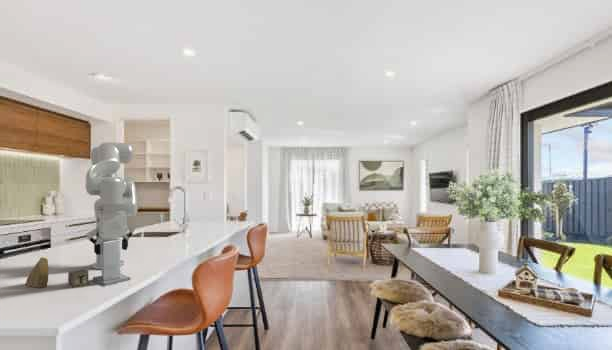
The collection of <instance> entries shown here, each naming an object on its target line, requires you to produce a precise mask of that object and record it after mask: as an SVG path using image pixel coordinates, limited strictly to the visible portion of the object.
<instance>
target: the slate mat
mask: <svg viewBox="0 0 612 350" xmlns="http://www.w3.org/2000/svg"><path fill="white" fill-rule="evenodd" d="M94 280H95V281H94ZM92 281H94V282H96V283H98V284H101V285H102V286H105V287H106V286H110V285H115V284H119V282H120V283H123V281H124V282H127V281H131V277H130V276H128V275H125V274H123V273H121V278H119V279H112V280H106V281H104V279H103V278H102V275H98V276H93V277H92Z"/></svg>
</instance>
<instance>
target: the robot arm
mask: <svg viewBox="0 0 612 350" xmlns="http://www.w3.org/2000/svg"><path fill="white" fill-rule="evenodd" d="M133 158H134V149H133V146H132V145H131V144H130V143H127V142H111V141H110V142H108V141H107V142H103V143H101V144H99V146H95V147H93V148H92V149H91V150H90V161H91V165H92V166H91V167H90V168H89V169H88V170H87V172H86V174H85V190H86V193H87V194H88V195H90V196H99V198H98V199H97V200H95V201H94V204H93V210H94V216H95V217H94V218H95V226H96V227H95V228H94V229H92V230H91V231H89V232H87V233H86V234H85V235H86V237H87V239H88V241H89V242H91V243H92V244H93V251H94V253H95V255H96V256H95V257H96V259H95V261H96V262H95V263H93V264H92V265H91V268H92V269H93V270H102V261H101V240H108V239H116V238H117V239H118V240H120V241H121V249H122V250H124V251H127V250H128V248H129V240H130V238H131V237H132V236H133V234H134V232H135V229H136V228H135V227H132V226H129V225H128V220H127V217H134V216H135V215H137V213H138V209H139V207H138V198H137V190H136V189H137V188H136V184H135V182H134V181H133V180H132V179H127V178H123V177H120V176H119V177H118V171H119V170H120V168H121V164H130V162H131V161H132V160H133ZM93 235H96V237H95V238H94V236H93ZM121 238H122V239H121ZM123 265H125V261H124V260H122V259H120V267H122V266H123Z"/></svg>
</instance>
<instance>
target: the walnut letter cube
mask: <svg viewBox="0 0 612 350" xmlns="http://www.w3.org/2000/svg"><path fill="white" fill-rule="evenodd" d="M67 277H68V279H67V286H69V285H70V286H69V287H71V286H72V287H71V288H76V287H75V286H78V287H81V286H80V285H82V286H85V285H84V284H86V285H89V270H87V269H84V268H81V269H76V270H72V271H68V274H67Z"/></svg>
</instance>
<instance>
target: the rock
mask: <svg viewBox="0 0 612 350" xmlns="http://www.w3.org/2000/svg"><path fill="white" fill-rule="evenodd" d="M48 261H49V260H48V258H46V257H41V258H40V259H39V260H38V261H37V262H36V264H35V265H34V267H33V268H32V269H31V271H30V272H29V275H28V276H27V278H26V281H25V283H24V285H26V286H27V287H30V288H31V287H33V288H46V287H47V286H48V283H49V262H48Z"/></svg>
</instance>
